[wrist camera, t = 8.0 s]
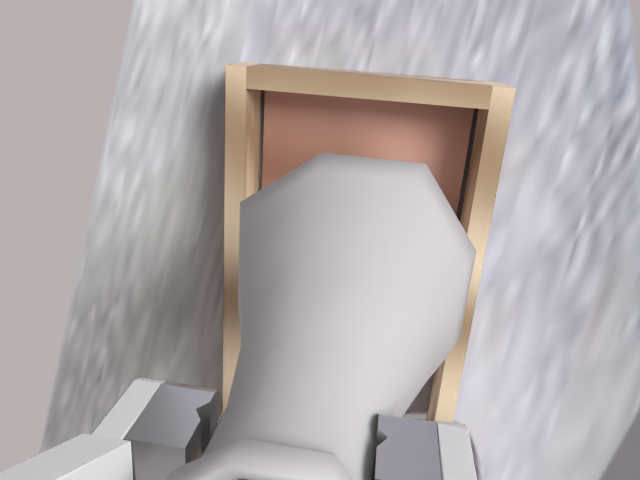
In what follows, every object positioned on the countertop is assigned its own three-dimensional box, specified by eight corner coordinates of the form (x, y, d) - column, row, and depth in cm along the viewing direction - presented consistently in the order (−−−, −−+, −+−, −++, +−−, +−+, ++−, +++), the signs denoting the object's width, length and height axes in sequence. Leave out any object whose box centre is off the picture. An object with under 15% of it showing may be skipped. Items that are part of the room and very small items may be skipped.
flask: (206, 176, 16) (-74, 358, 7) (453, 121, 15) (513, 265, 5) (271, 383, 18) (123, 730, 9) (494, 356, 17) (586, 751, 7)
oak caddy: (431, 483, 29) (434, 522, 27) (235, 452, 30) (222, 487, 28) (503, 83, 22) (515, 88, 20) (243, 61, 23) (225, 64, 21)
